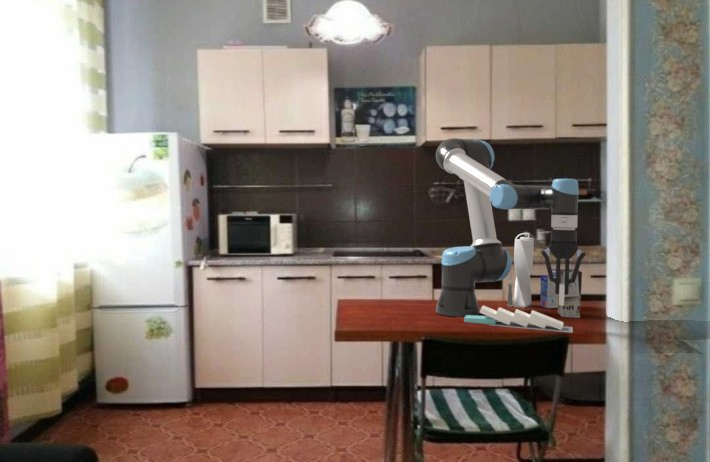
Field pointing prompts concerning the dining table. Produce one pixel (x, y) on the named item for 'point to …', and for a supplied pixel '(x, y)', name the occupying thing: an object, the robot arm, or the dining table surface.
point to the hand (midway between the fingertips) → (561, 304)
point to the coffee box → (571, 296)
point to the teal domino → (479, 319)
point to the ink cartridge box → (548, 292)
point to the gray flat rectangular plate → (533, 327)
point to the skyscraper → (522, 272)
